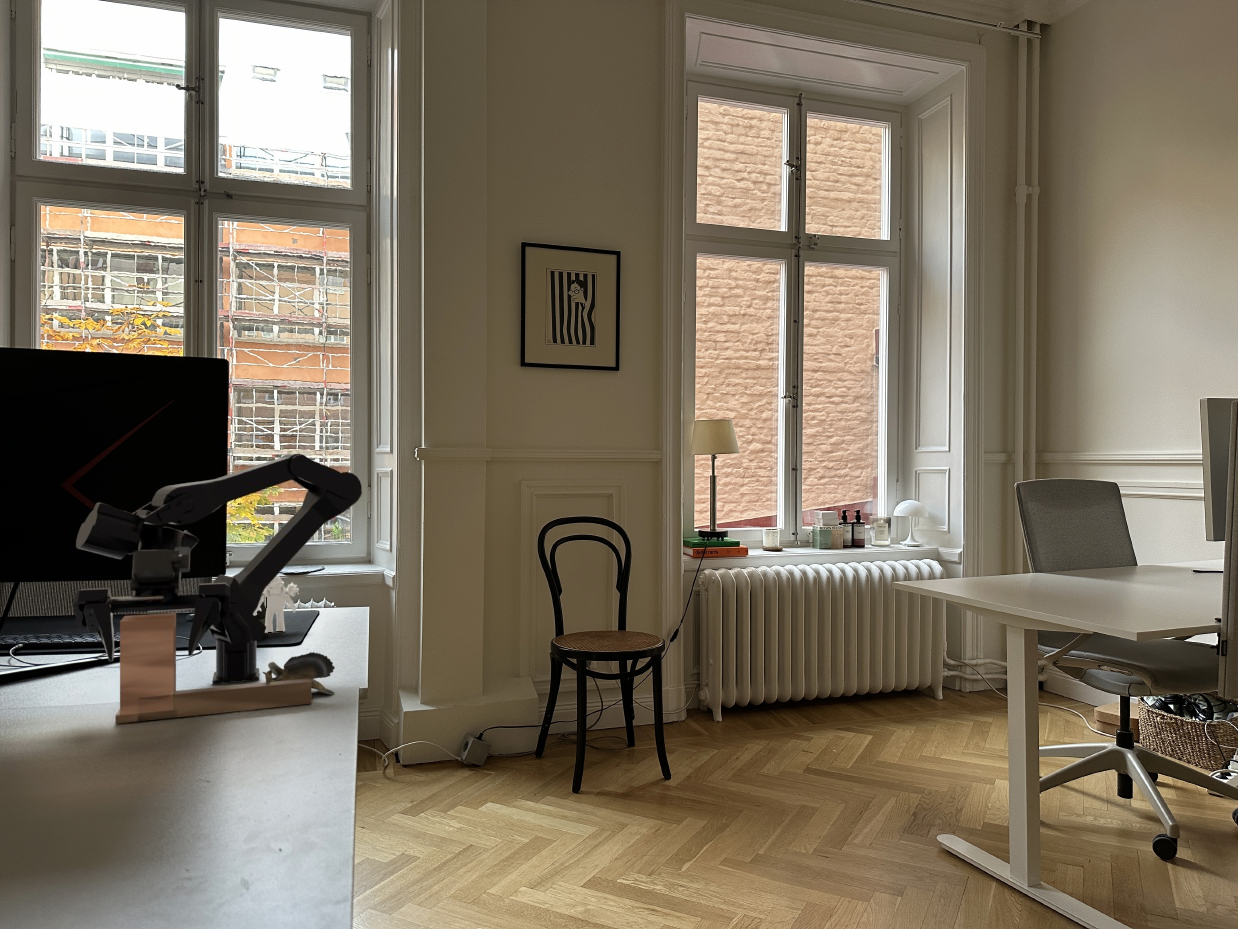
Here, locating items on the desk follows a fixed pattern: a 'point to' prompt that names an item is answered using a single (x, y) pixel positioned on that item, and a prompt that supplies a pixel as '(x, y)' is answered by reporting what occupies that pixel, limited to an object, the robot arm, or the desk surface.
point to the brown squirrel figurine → (303, 670)
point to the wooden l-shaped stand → (154, 678)
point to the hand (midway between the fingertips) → (150, 656)
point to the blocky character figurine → (277, 603)
